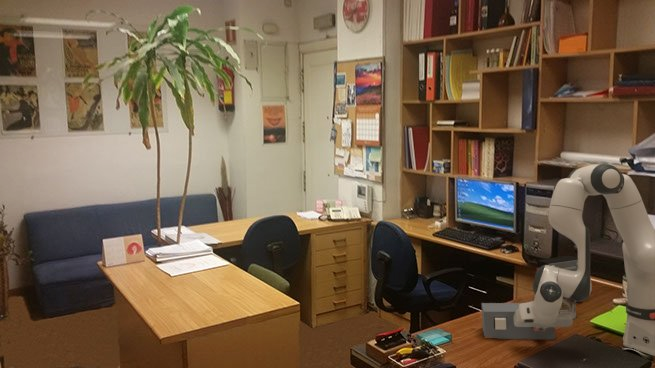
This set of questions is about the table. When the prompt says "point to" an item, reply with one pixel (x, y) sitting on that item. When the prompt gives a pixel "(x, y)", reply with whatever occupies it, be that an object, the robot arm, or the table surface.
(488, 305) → the block
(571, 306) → the coffee box
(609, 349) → the table surface
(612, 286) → the table surface
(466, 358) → the table surface
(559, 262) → the electrical component
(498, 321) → the beige plug
